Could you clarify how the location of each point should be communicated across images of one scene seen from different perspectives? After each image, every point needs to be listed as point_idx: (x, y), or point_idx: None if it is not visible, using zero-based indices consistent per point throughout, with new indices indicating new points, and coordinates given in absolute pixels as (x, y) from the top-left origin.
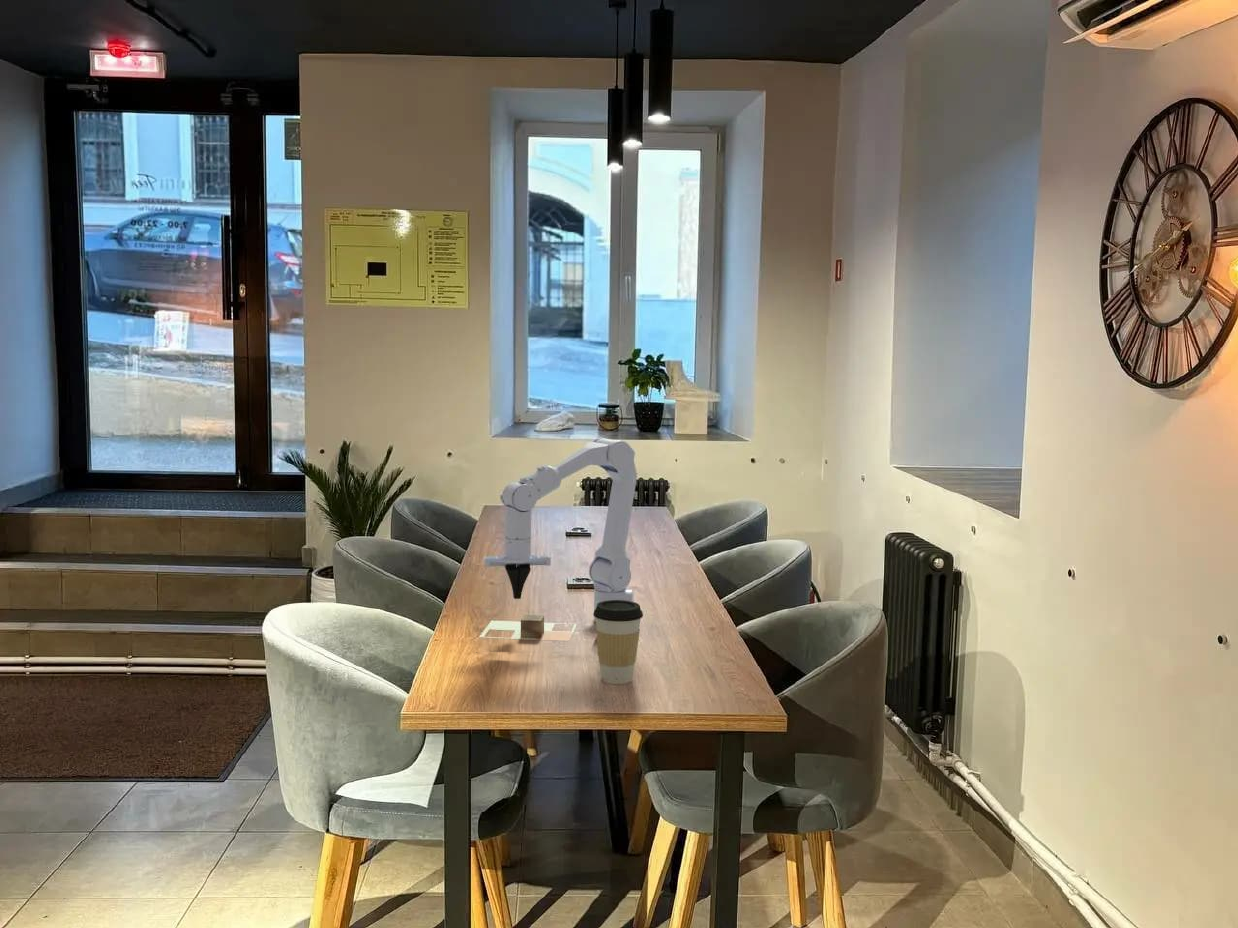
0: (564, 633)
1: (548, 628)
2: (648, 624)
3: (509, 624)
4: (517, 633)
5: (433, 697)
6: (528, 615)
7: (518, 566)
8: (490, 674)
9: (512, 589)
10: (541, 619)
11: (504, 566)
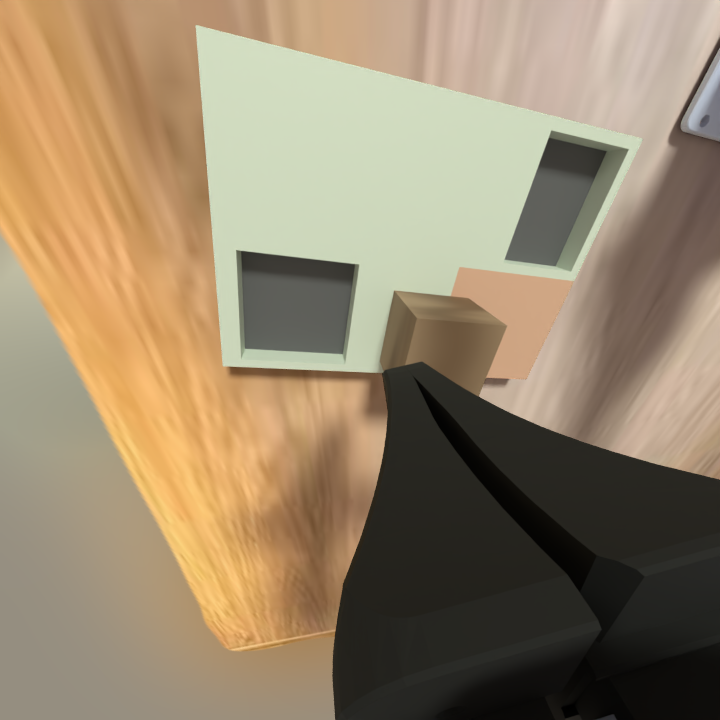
0: (538, 299)
1: (499, 227)
2: None
3: (324, 146)
4: (368, 309)
5: (236, 620)
6: (436, 330)
7: (579, 683)
8: (314, 540)
9: (388, 400)
10: (481, 385)
11: (335, 685)
